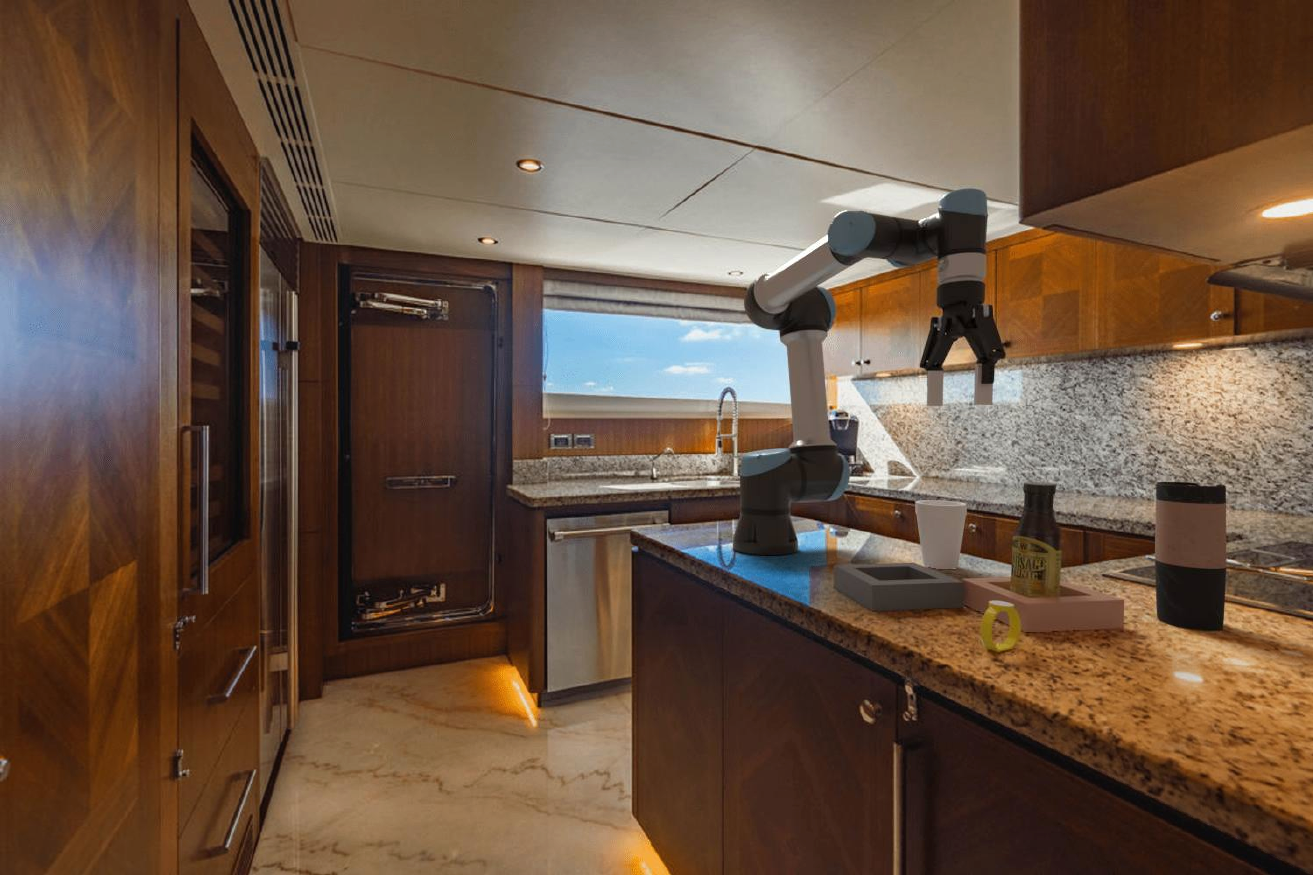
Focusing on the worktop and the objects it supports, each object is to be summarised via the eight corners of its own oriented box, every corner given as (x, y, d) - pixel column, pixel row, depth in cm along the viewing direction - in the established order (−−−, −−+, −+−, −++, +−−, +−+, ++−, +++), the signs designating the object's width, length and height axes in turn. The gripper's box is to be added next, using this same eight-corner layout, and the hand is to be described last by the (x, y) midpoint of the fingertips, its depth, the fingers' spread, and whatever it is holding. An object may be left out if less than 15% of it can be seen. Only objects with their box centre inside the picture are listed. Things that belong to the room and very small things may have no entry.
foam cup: (955, 562, 126) (956, 500, 125) (974, 572, 116) (974, 506, 116) (909, 561, 127) (909, 500, 126) (923, 571, 117) (923, 505, 117)
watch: (1004, 644, 78) (1007, 598, 78) (1025, 651, 75) (1028, 604, 75) (973, 648, 75) (976, 601, 75) (994, 655, 73) (996, 606, 73)
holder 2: (960, 603, 95) (961, 578, 95) (1046, 600, 97) (1046, 575, 97) (1025, 632, 81) (1025, 603, 81) (1123, 628, 83) (1124, 599, 83)
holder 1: (833, 587, 105) (833, 564, 105) (913, 584, 107) (913, 562, 107) (872, 611, 91) (872, 585, 91) (963, 607, 93) (963, 582, 93)
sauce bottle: (1000, 611, 91) (1001, 481, 91) (1027, 606, 94) (1028, 480, 93) (1043, 623, 85) (1044, 485, 85) (1071, 618, 88) (1071, 483, 87)
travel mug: (1162, 626, 84) (1163, 484, 84) (1148, 611, 91) (1149, 480, 91) (1235, 634, 80) (1236, 487, 80) (1214, 619, 87) (1215, 482, 87)
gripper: (902, 296, 115) (899, 406, 116) (989, 264, 91) (985, 403, 91) (938, 298, 116) (935, 406, 117) (1034, 266, 92) (1029, 404, 92)
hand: (957, 405), depth 104 cm, fingers open, 13 cm apart
